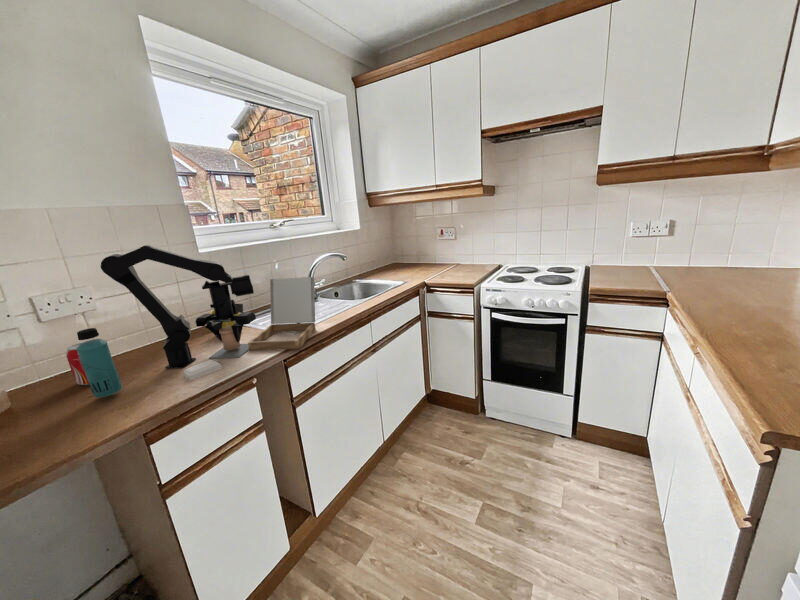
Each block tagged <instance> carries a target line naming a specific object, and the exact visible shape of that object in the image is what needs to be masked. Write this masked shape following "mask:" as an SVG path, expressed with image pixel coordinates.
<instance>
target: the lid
mask: <svg viewBox="0 0 800 600" xmlns="http://www.w3.org/2000/svg"><path fill="white" fill-rule="evenodd" d="M269 285H270V325H272V324H296V323H316V299H315V296H316V295H315V293H316V292H315V277H314V276H307V277H306V276H302V277H287V278H274V279H273V278H270V281H269Z"/></svg>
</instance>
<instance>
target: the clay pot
mask: <svg viewBox="0 0 800 600" xmlns="http://www.w3.org/2000/svg"><path fill="white" fill-rule="evenodd" d="M219 334H221V338H222V342H223V343H222V342H221V343H222V345H223V347H224V350H227V351H229V350H234V349H237V348H239V347H240V344H241V343H240V342H237V341H236V339H235V336H234V333H233V330H232V327H231V326H228V327H224V328H221V329H220V330H219Z"/></svg>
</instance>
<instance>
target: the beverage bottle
mask: <svg viewBox="0 0 800 600" xmlns="http://www.w3.org/2000/svg"><path fill="white" fill-rule="evenodd" d="M76 335H77V339H78V340H79V341H83V342H80V343H81V344H80V345H79V346H78V348H77V352H78V354H79V357H80V360H81V365H82V367H83V369H84V372H85V373H86V376H87V379H88V381H89V383H88V384H89V385H88V387H89V389H90V390H91V393H92V395H93V396H94V397H95V398H105V397H108V396H111V395H114V394H116V393H118V392H120V391H121V390H122V389H123V385H122V384H123V383H122V381H121V379H120V375H119V372H118V370H117V367H116V366H115V363H114V360H113V357H112V353H111V351H110V348H109V345H108V342H107V340H104V339H101V338H96V337H99V336H100V334H99V332H98V329H97V328H96V327H91V328H90V327H89V328H85V329H81V330H79V331H77V332H76ZM85 340H86V341H85Z"/></svg>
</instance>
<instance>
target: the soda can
mask: <svg viewBox="0 0 800 600" xmlns="http://www.w3.org/2000/svg"><path fill="white" fill-rule="evenodd" d="M81 343H82V342H80V343H76V344H72V345H71V346H68V347H66V350H67V352H66V354H65V356H66V359H67V362H68V365H69V367H70V371H71V372H72V376H73V377H74V379H75V381H76V384H77V385H80V386H89V384H88V383H89V381H88V379H87V376H86V373H85V372H84V369H83V367H82V365H81V360H80V357H79V354H78V352H77V348H78V346H79V345H80V344H81Z"/></svg>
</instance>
